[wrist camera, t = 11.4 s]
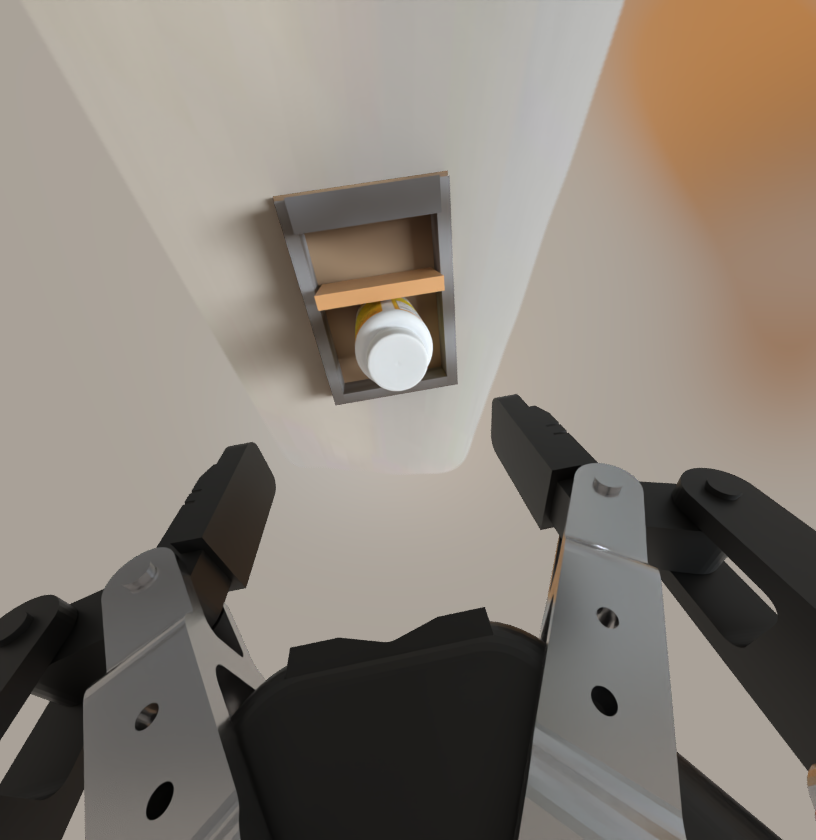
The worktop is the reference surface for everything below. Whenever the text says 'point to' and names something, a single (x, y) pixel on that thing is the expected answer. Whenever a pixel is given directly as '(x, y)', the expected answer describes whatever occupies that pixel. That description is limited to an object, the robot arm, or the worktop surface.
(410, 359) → the supplement bottle
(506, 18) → the worktop surface
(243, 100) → the worktop surface
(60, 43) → the worktop surface
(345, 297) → the board
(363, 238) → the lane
